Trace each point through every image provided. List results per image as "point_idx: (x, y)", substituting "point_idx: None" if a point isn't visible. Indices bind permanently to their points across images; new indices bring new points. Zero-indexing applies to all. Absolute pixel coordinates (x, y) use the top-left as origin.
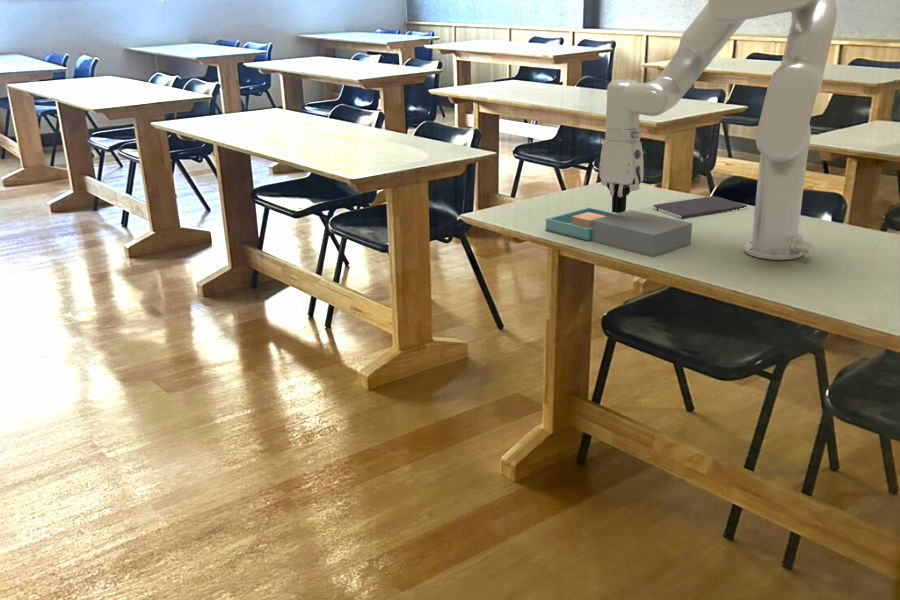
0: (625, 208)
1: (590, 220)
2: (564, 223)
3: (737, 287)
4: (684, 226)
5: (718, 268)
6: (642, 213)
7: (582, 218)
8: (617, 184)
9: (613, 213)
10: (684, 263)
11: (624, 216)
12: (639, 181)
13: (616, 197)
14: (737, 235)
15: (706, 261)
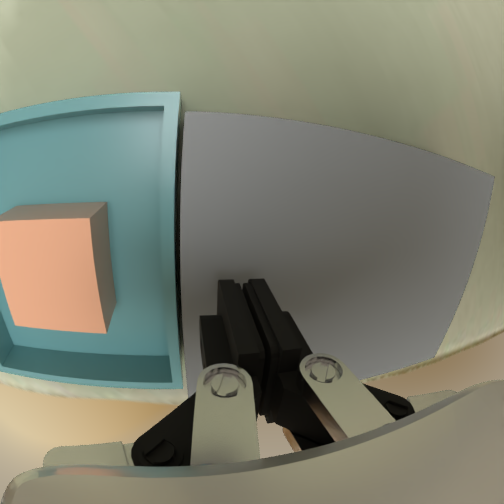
0: (267, 286)
1: (104, 331)
2: (68, 382)
3: (497, 323)
4: (483, 218)
5: (490, 281)
6: (303, 141)
7: (59, 327)
8: (226, 458)
9: (57, 111)
10: None
11: (255, 270)
12: (490, 389)
13: (271, 419)
14: (470, 29)
15: (479, 264)
